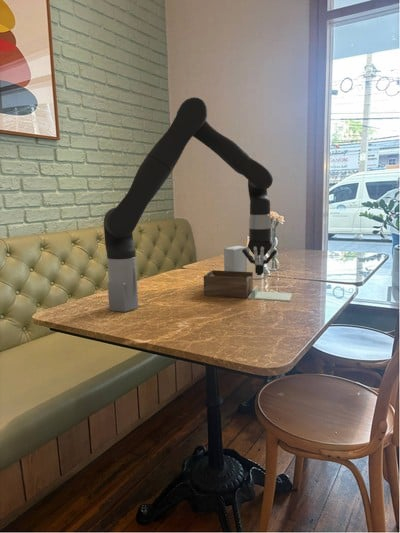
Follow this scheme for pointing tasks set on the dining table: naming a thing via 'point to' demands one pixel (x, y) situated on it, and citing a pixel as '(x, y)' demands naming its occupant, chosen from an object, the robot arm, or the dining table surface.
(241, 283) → the box
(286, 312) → the dining table surface
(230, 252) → the skincare box
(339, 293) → the dining table surface
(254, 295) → the lid
